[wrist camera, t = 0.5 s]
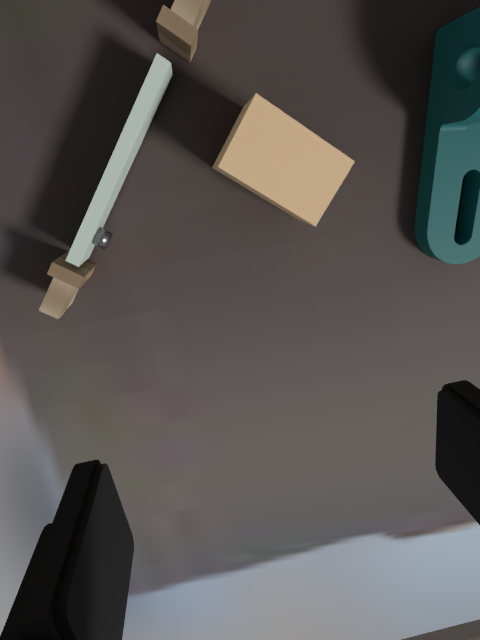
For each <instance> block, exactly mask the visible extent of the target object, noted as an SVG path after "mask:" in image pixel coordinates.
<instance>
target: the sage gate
mask: <svg viewBox="0 0 480 640" xmlns="http://www.w3.org/2000/svg"><path fill="white" fill-rule="evenodd" d="M172 75H173V74H172V66H171V62H170V61H168V60H167V59H165V58H164V57H162V56H161V55H159V54H158V53H157V54H156V56H155V58H154V60H153V63H152V65H151V67H150V70H149V72H148V74H147V76H146V79H145V81H144V83H143V85H142V88H141V90H140V92H139V95H138V97H137V99H136V101H135V104H134V106H133V108H132V110H131V113H130V115H129V117H128V119H127V122H126V124H125V126H124V129H123V131H122V133H121V135H120V138H119V140H118V142H117V144H116V147H115V149H114V151H113V154H112V156H111V158H110V160H109V163H108V165H107V167H106V169H105V172H104V174H103V176H102V178H101V181H100V183H99V185H98V188H97V190H96V192H95V194H94V197H93V199H92V201H91V203H90V206H89V208H88V210H87V213H86V215H85V217H84V219H83V222H82V224H81V226H80V228H79V231H78V233H77V235H76V237H75V240H74V242H73V244H72V247H71V249H70V251H69V253H68V256H67V258H66V260H65V261H67V262H69V263H71V264H73V265H75V266H77V267H79V266H80V265H81V264H83V263H84V262H85V261H86V260H87V259H88V258H89V257H90V255H91V253H92V250H93V248H94V246H95V245H96V246H98V247H100V248H102V249H104V250H105V249H106V247H107V245H108V243H109V241H110V239H111V237H112V234H113V233H111V232H109V231H107V230H105V229H103V226H104V224H105V222H106V220H107V217H108V215H109V213H110V211H111V209H112V207H113V204H114V202H115V200H116V198H117V196H118V193H119V191H120V189H121V187H122V185H123V182H124V180H125V178H126V176H127V174H128V172H129V169H130V167H131V165H132V163H133V161H134V158H135V156H136V154H137V152H138V150H139V147H140V145H141V143H142V141H143V139H144V136H145V134H146V132H147V130H148V128H149V126H150V123H151V121H152V119H153V117H154V115H155V112H156V110H157V108H158V106H159V104H160V101H161V99H162V97H163V95H164V93H165V91H166V88H167V86H168V84H169V82H170V80H171V77H172Z"/></svg>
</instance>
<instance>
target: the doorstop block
mask: <svg viewBox="0 0 480 640" xmlns="http://www.w3.org/2000/svg"><path fill="white" fill-rule="evenodd" d="M354 162H355V161H353V160H352V159H350V158H349V157H348V156H346V155H345V154H343V153H342V152H340V151H339V150H337V149H336V148H335V147H333V146H332V145H330V144H329V143H327V142H326V141H324V140H323V139H322V138H320V137H319V136H317V135H316V134H314V133H313V132H311V131H310V130H309V129H307V128H306V127H304V126H303V125H301V124H300V123H298V122H297V121H296V120H294V119H293V118H291V117H290V116H288V115H287V114H285V113H284V112H283V111H281V110H280V109H278V108H277V107H275V106H274V105H272V104H271V103H270V102H268V101H267V100H265V99H264V98H262V97H261V96H259V95H258V94H257V93H256V94H255V95H254V96H253V97H252V98H251V99H250V100H249V101H248V102H247V104H246V105H245V106H244V107H243V108H242V110H241V112H240V114H239V116H238V118H237V120H236V122H235V124H234V126H233V128H232V130H231V132H230V134H229V136H228V138H227V140H226V142H225V144H224V145H223V147H222V149H221V151H220V153H219V155H218V157H217V159H216V161H215V163H214V165H213V167H212V168H213V169H215V170H217V171H218V172H220V173H222V174H223V175H225V176H227V177H228V178H230V179H231V180H233V181H235V182H236V183H238V184H240V185H241V186H243V187H245V188H246V189H248V190H250V191H251V192H253V193H255V194H256V195H258V196H259V197H261V198H263V199H264V200H266V201H268V202H269V203H271V204H273V205H274V206H276V207H278V208H279V209H281V210H283V211H284V212H286V213H287V214H289V215H291V216H292V217H294V218H296V219H299V220H301V221H304V222H306V223H308V224H311V225H313V226H315V227H316V225H317V223H318V222H319V220H320V218H321V217H322V215H323V213H324V212H325V210H326V208H327V207H328V205H329V203H330V202H331V200H332V198H333V197H334V195H335V193H336V192H337V190H338V189H339V187H340V185H341V184H342V182H343V180H344V179H345V177H346V175H347V174H348V172H349V170H350V169H351V167H352V165H353V164H354Z"/></svg>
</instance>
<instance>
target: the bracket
mask: <svg viewBox="0 0 480 640" xmlns="http://www.w3.org/2000/svg"><path fill="white" fill-rule="evenodd" d="M464 175H465V183H464V190H463V196H462V203H461V210H460V216H459V223H458V229H457V234H456V236H455V237H454V234H455V227H456V220H457V213H458V207H459V200H460V193H461V187H462V180H463V177H464ZM414 232H415V238H416V242H417V244H418V246H419V248H420V249H421V250H422V251H423V252H424V253H425V254H426V255H428V256H429V257H432V258H434V259H437V260H440V261H443V262H446V263H449V264H462V263H466V262H469V261H472V260H474V259H476V258H477V257H479V256H480V7H477V8H475V9H473V10H472V11H470V12H468V13H466V14H465V15H463V16H461V17H459V18H457V19H456V20H454V21H452V22H450V23H448V24H447V25H445V26H443V27H441V28H440V29H438V30H437V32H436V41H435V49H434V58H433V67H432V76H431V85H430V94H429V102H428V111H427V120H426V129H425V138H424V147H423V155H422V164H421V173H420V182H419V191H418V199H417V208H416V217H415V227H414Z"/></svg>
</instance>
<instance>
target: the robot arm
mask: <svg viewBox="0 0 480 640" xmlns="http://www.w3.org/2000/svg"><path fill="white" fill-rule="evenodd" d="M435 465H436V470H437V473H438V475H439V477H440V478H441V480H442V481H443V482H444V483H445V484H446V486H447V487H448V488H449V489H450V490H451V492H452V493H453V494H454V495H455V496H456V497H457V499H458V500H459V501H460V502H461V503H462V505H463V506H464V507H465V508H466V509H467V510H468V512H469V513H470V514H471V515H472V516H473V518H474V519H475V520H476V521H477V522H478V523H479V525H480V389H478V388H477V387H475V386H474V385H473V384H471V383H470V382H468V381H465V380H463V381H458V382H454V383H449V384H445V385H444V386H443V388H442V391H439V393H438V399H437V431H436V462H435ZM133 552H134V541H133V536H132V533H131V530H130V527H129V524H128V521H127V518H126V515H125V513H124V510H123V507H122V504H121V501H120V498H119V496H118V493H117V490H116V487H115V484H114V481H113V479H112V476H111V473H110V470H109V467H108V465H107V464H101V463H100V461H99V460H93V461H88V462H83V463H79V464H76V465H75V466H74V467H73V470H72V472H71V475H70V478H69V480H68V483H67V486H66V488H65V491H64V494H63V496H62V499H61V502H60V504H59V507H58V510H57V512H56V515H55V518H54V520H53V523H51V524H48V525H46V526H45V527H44V529H43V531H42V533H41V535H40V538H39V540H38V543H37V545H36V548H35V550H34V553H33V555H32V558H31V560H30V563H29V565H28V568H27V571H26V573H25V576H24V578H23V581H22V583H21V586H20V588H19V591H18V593H17V596H16V598H15V601H14V603H13V606H12V608H11V611H10V614H9V616H8V619H7V621H6V624H5V626H4V629H3V631H2V634H1V636H0V640H122V635H123V628H124V620H125V612H126V605H127V597H128V590H129V582H130V575H131V567H132V559H133ZM402 640H480V620H476V621H472V622H468V623H464V624H460V625H456V626H452V627H448V628H444V629H441V630H437V631H433V632H429V633H425V634H421V635H418V636H414V637H410V638H406V639H402Z"/></svg>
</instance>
